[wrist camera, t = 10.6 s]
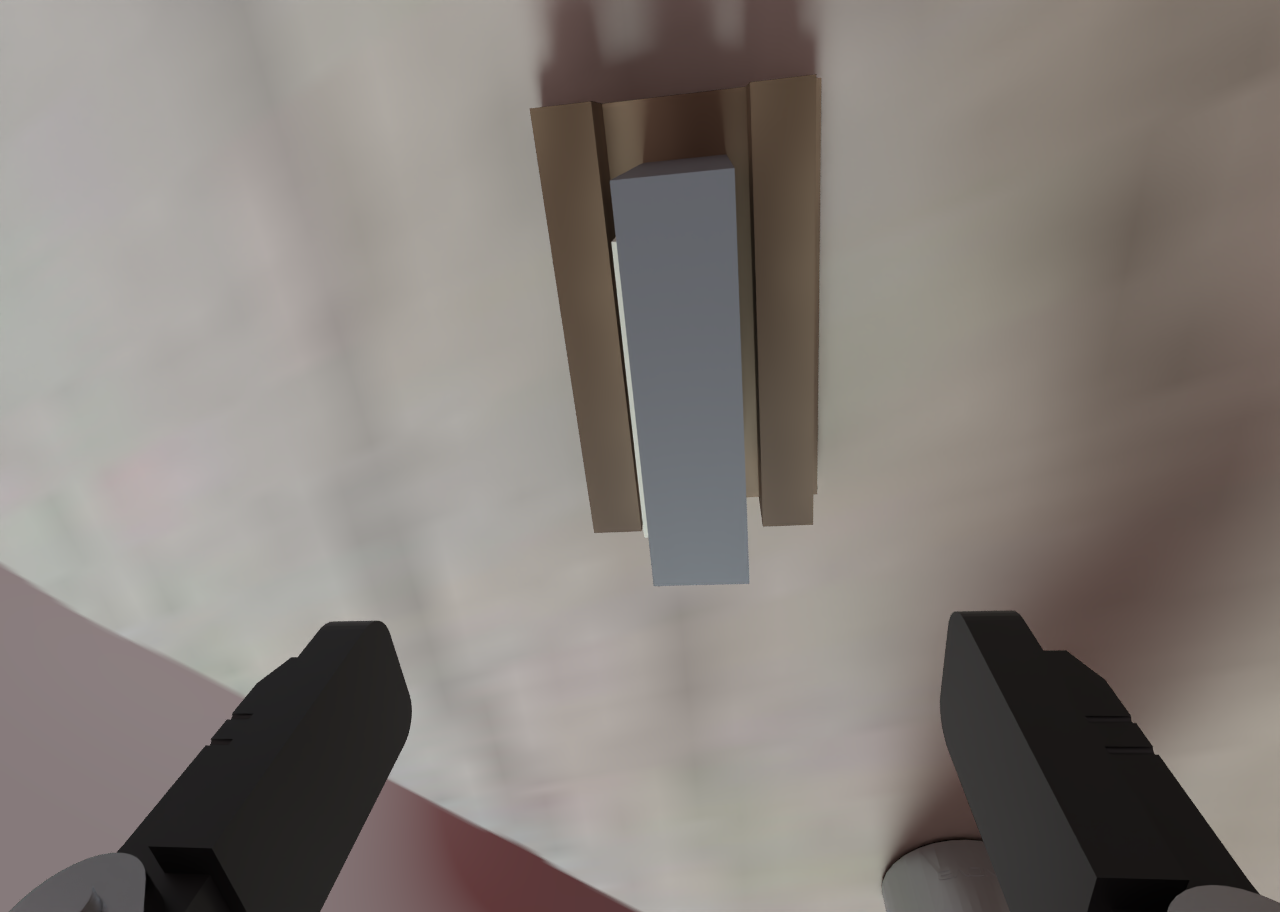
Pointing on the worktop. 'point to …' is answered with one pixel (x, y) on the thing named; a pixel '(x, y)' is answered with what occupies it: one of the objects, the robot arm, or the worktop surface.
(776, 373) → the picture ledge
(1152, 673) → the worktop surface
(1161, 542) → the worktop surface
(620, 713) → the worktop surface
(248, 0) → the worktop surface
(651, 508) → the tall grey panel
